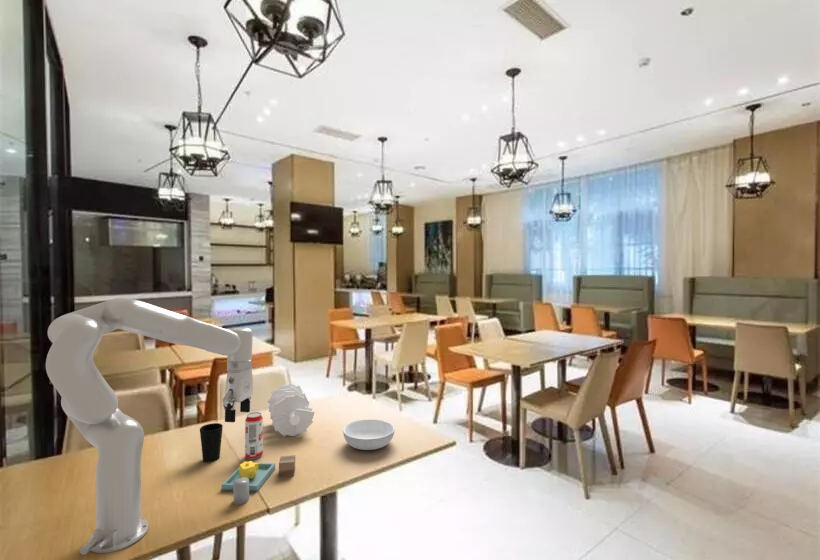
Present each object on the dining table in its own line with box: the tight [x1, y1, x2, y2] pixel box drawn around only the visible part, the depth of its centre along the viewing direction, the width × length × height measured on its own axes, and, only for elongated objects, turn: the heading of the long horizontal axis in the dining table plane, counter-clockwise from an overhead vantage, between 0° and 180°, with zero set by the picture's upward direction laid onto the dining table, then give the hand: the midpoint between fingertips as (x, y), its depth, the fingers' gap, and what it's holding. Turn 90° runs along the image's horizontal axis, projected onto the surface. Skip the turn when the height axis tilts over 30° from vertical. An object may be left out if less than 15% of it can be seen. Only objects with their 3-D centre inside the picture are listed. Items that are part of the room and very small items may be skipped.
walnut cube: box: [278, 454, 296, 478], centre depth 135 cm, size 5×5×5 cm
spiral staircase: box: [267, 382, 316, 437], centre depth 174 cm, size 18×18×25 cm
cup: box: [199, 422, 224, 463], centre depth 145 cm, size 8×8×12 cm
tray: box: [221, 462, 276, 493], centre depth 131 cm, size 15×12×2 cm
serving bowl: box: [342, 418, 395, 451], centre depth 158 cm, size 21×21×7 cm
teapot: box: [238, 460, 259, 479], centre depth 131 cm, size 8×6×5 cm
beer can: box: [244, 411, 264, 460], centre depth 147 cm, size 6×6×16 cm
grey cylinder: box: [232, 477, 250, 506], centre depth 119 cm, size 4×4×6 cm
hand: (237, 416), depth 129 cm, fingers open, 9 cm apart
